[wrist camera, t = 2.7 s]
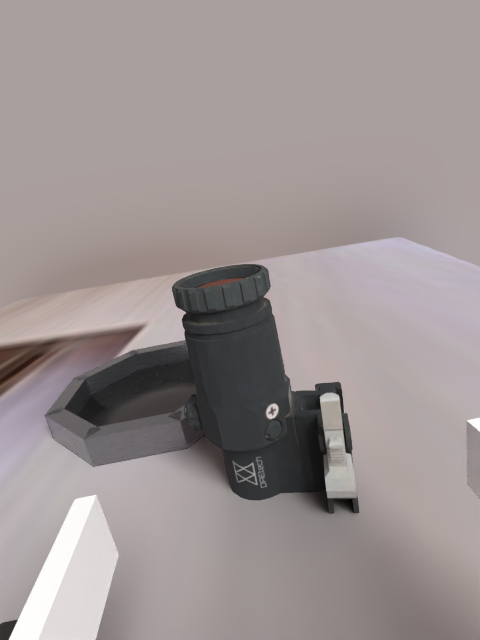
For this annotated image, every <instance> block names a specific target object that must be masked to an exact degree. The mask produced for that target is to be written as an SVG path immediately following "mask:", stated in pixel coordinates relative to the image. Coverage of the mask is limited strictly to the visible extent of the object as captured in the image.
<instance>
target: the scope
mask: <svg viewBox="0 0 480 640" xmlns="http://www.w3.org/2000/svg"><path fill="white" fill-rule="evenodd" d="M270 287H271V286H270V280H269V273H268V269H267V268H266V267H264V266H262V265H257V264H241V265H232V266H225V267H220V268H215V269H210V270H206V271H203V272H199V273H195V274H192V275H190V276H187V277H185V278H182V279H180V280H179V281H177V282H176V283H175V284H174V285H173V287H172V291H173V295H174V299H175V303H176V306H177V307H178V308H180V309H182V310H183V311H185V312H186V314H185V315H184V316H183V318H182V323H183V327H184V329H185V339H186V344H187V349H188V354H189V358H190V363H191V368H192V373H193V378H194V383H195V387H196V392H197V395H196V394H192V395H191V396H190V398H189V400H188V402H187V403H186V405H185V407H184V416H186V417H187V419H185V420H186V421H187V422H188V423H189V425H190V427H191V428H192V429H194V430H198V429H200V430H203V433H204V435H205V436H206V437H207V438H208V439H209V440H210V441H211V442H212V443H214V444H215V445H216V446H218V447H219V448H222V451H223V456H224V460H225V464H226V469H227V473H228V477H229V482H230V485H231V487H232V490H233V492H235V493H236V494H237V495H238V496H240V497H241V498H245V499H248V500H263V499H267V498H271V497H273V496H275V495H277V494H280V493H292V492H305V491H306V492H317V491H323V490H326V492H327V500H328V508H329V513H334V506H333V501H353V508H354V512H357V513H359V506H358V498H357V491H356V483H355V476H354V469H353V460H352V440H351V432H350V426H349V421H348V415H347V413H346V411H345V409H344V406H343V397H342V389H341V384H340V383H339V382H333V383H321V384H316V385H315V390H316V391H296V392H294V391H291V385H290V379H289V378H288V377H287V376H286V375H285V370H284V364H283V359H282V354H281V349H280V344H279V339H278V334H277V329H276V324H275V318H274V316H273V314H272V307H271V304H270V300H268V299H267V298H264V295H265V294H266V293H267V292H268V291H269V289H270Z"/></svg>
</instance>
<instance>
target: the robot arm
mask: <svg viewBox="0 0 480 640" xmlns="http://www.w3.org/2000/svg"><path fill="white" fill-rule="evenodd" d="M467 485H468V486H469V487H470V488H471V489H472V490H473V491H474V492H475V494H476V495H477V496H478V497H479V498H480V418H477V419H472V420H467ZM118 556H119V554H118V551H117V548H116V546H115V543H114V540H113V538H112V535H111V532H110V530H109V527H108V524H107V522H106V519H105V516H104V514H103V511H102V508H101V505H100V503H99V500H98V497H97V495H93V496H88V497H83V498H78V499H75V500H74V502H73V504H72V506H71V508H70V510H69V513H68V515H67V517H66V519H65V521H64V523H63V525H62V527H61V530H60V532H59V534H58V536H57V538H56V540H55V542H54V545H53V547H52V549H51V551H50V553H49V555H48V557H47V559H46V562H45V564H44V566H43V568H42V570H41V572H40V574H39V576H38V579H37V581H36V583H35V585H34V587H33V589H32V591H31V593H30V596H29V598H28V600H27V602H26V604H25V606H24V608H23V610H22V613H21V615H20V617H19V619H18V620H14V621H9V622H4V623H1V624H0V640H96V637H97V633H98V629H99V626H100V622H101V618H102V615H103V611H104V607H105V603H106V600H107V596H108V592H109V589H110V585H111V581H112V578H113V574H114V570H115V567H116V563H117V559H118Z"/></svg>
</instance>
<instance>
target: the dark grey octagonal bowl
mask: <svg viewBox="0 0 480 640" xmlns="http://www.w3.org/2000/svg"><path fill="white" fill-rule="evenodd" d="M192 394H196V395H197V392H196V387H195V383H194V378H193V373H192V368H191V363H190V358H189V354H188V349H187V344H186V340H184V341H179V342H174V343H169V344H163V345H158V346H153V347H148V348H143V349H137V350H132V351H130V352H128V353H126V354H124V355H122V356H120V357H117V358H115V359H113V360H111V361H109V362H107V363H105V364H103V365H101V366H99V367H96V368H94V369H92V370H90V371H88V372H86V373H84V374H82V375H80V376H78V377H75V378H74V379H73V380H72V381H71V383H70V384H69V385H68V386H67V388H66V389H65V390H64V392H63V393H62V394H61V395H60V397H59V398H58V399H57V400H56V402H55V403H54V404H53V406H52V407H51V408H50V409H49V411H48V412H47V413H46V415H45V418H46V420H47V423H48V426H49V428H50V431H51V433H52V436H53V438H54V439H55V440H56V441H57V442H59V443H60V444H62V445H63V446H65V447H66V448H68V449H69V450H70V451H72V452H73V453H75V454H76V455H78V456H79V457H81V458H82V459H83V460H85V461H86V462H88V463H89V464H91V465H92V466H98V465H103V464H109V463H114V462H119V461H124V460H129V459H134V458H139V457H145V456H150V455H155V454H160V453H165V452H170V451H175V450H180V449H186V448H188V447H189V446H191V445H192V444H193V443H195V442H196V441H197V440H199V439H200V438H201V437H202V436H204V433H203V430H200V429H198V430H194V429H192V428H191V427H190V425H189V423H188V422H187V421H186V420H185V419H187V417H186V416H184V407H185V405H186V403H187V402H188V400H189V398H190V396H191V395H192Z"/></svg>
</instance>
